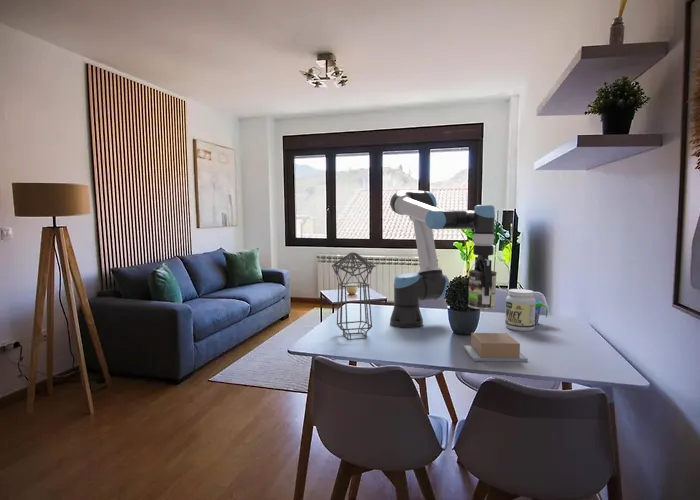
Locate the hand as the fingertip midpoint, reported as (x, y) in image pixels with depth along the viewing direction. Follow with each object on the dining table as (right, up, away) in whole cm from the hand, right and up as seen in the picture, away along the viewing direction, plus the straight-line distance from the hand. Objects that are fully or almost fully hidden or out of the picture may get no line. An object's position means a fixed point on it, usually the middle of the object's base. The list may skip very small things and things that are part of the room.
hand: (481, 301), depth 159 cm
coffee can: (0, -2, 0) cm, 3 cm away
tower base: (-1, -17, -15) cm, 23 cm away
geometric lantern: (-51, -16, +9) cm, 54 cm away
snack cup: (+33, -14, +31) cm, 47 cm away
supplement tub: (+24, -15, +22) cm, 36 cm away
